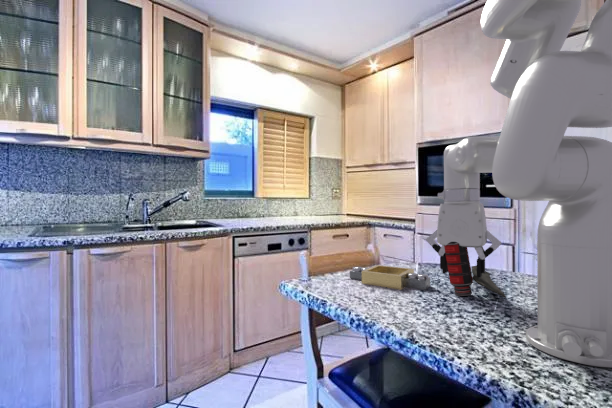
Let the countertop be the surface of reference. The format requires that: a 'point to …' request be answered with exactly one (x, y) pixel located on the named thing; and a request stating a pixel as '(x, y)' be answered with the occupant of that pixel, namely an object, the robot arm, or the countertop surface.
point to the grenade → (459, 268)
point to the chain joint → (391, 277)
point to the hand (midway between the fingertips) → (462, 273)
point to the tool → (486, 281)
